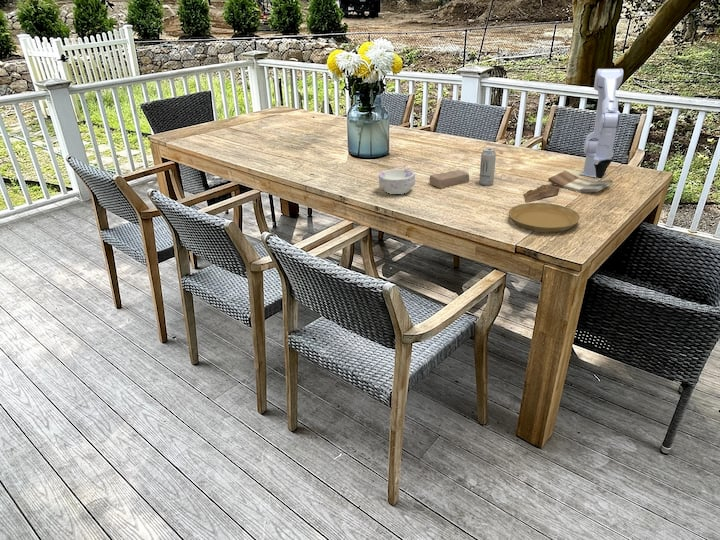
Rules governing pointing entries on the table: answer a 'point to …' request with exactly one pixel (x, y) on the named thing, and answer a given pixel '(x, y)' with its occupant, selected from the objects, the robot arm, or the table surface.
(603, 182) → the grey oak plank
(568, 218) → the plant saucer
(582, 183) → the ash board
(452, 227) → the table surface
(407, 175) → the paper bowls
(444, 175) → the brick
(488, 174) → the energy drink can
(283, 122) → the table surface
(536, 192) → the fossil skeleton slab
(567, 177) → the walnut plank
